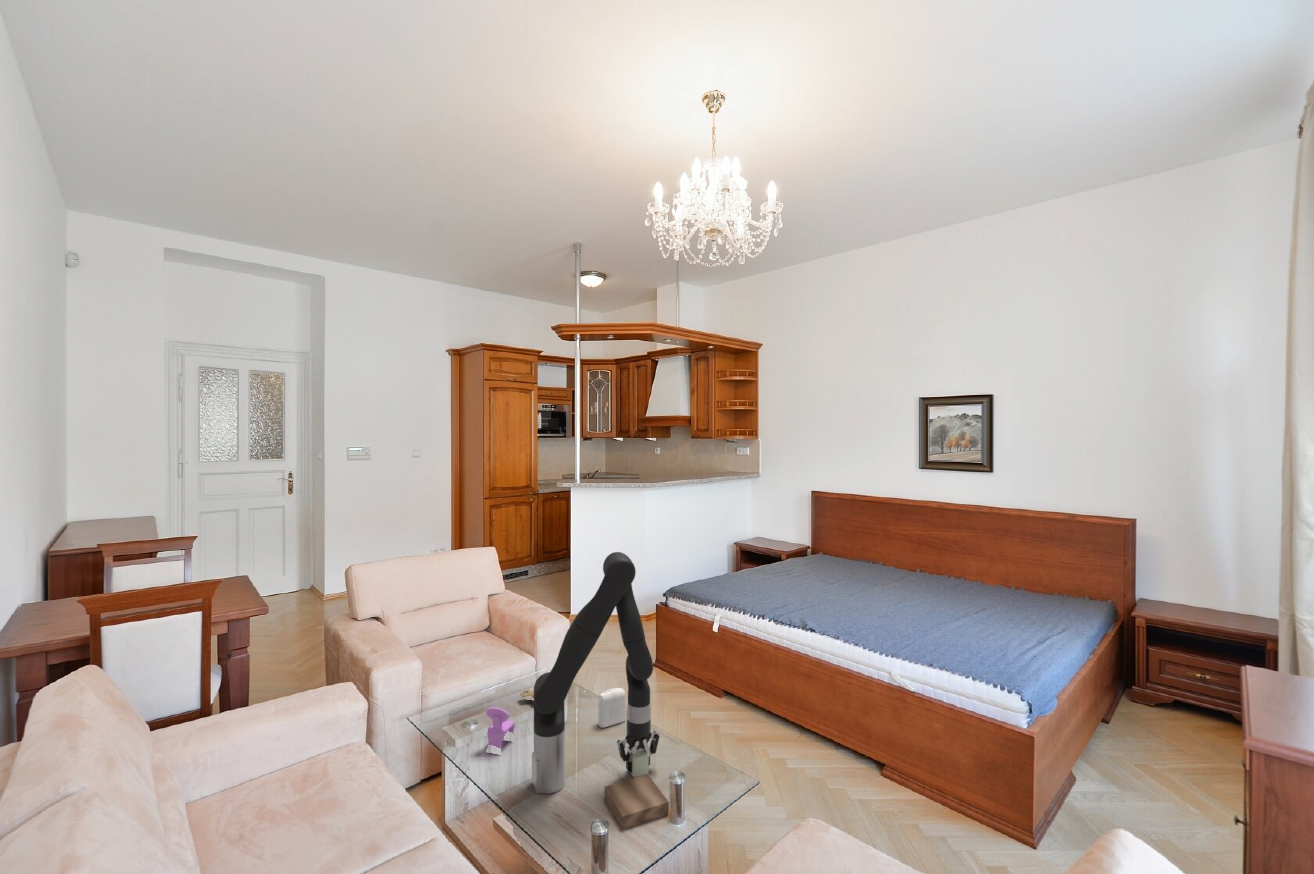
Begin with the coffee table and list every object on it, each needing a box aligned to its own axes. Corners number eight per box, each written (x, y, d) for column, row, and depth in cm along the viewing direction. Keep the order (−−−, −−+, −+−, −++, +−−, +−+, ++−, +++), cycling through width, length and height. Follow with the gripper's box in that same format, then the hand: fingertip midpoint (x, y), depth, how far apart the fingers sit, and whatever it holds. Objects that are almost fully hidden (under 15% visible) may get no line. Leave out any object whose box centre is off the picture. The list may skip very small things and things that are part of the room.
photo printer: (621, 716, 219) (621, 683, 218) (627, 721, 215) (627, 688, 215) (596, 724, 213) (596, 690, 213) (602, 729, 210) (602, 695, 209)
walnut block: (622, 830, 160) (622, 816, 160) (604, 799, 173) (604, 786, 172) (668, 815, 166) (668, 801, 166) (647, 786, 179) (647, 773, 178)
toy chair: (518, 742, 201) (518, 699, 201) (504, 756, 193) (504, 711, 192) (496, 738, 204) (496, 695, 203) (482, 752, 195) (482, 708, 194)
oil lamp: (519, 700, 231) (519, 687, 230) (556, 694, 236) (556, 681, 235) (523, 713, 221) (523, 700, 220) (561, 706, 226) (561, 694, 225)
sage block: (633, 777, 182) (634, 758, 181) (627, 768, 186) (627, 750, 186) (648, 773, 184) (648, 754, 183) (641, 764, 188) (642, 746, 188)
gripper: (622, 727, 178) (621, 781, 178) (664, 717, 184) (663, 769, 185) (613, 715, 184) (612, 768, 185) (654, 706, 191) (653, 757, 191)
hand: (638, 768), depth 185 cm, fingers closed on sage block, 5 cm apart
